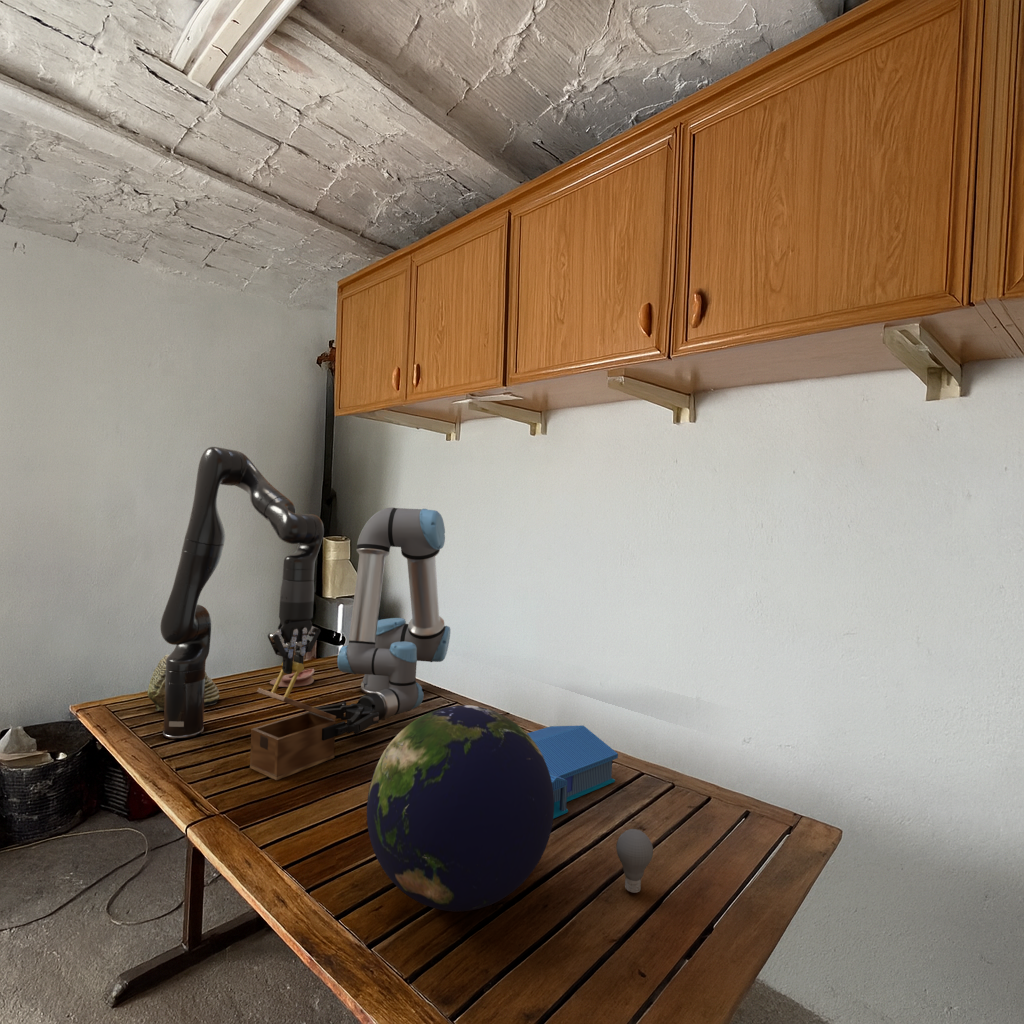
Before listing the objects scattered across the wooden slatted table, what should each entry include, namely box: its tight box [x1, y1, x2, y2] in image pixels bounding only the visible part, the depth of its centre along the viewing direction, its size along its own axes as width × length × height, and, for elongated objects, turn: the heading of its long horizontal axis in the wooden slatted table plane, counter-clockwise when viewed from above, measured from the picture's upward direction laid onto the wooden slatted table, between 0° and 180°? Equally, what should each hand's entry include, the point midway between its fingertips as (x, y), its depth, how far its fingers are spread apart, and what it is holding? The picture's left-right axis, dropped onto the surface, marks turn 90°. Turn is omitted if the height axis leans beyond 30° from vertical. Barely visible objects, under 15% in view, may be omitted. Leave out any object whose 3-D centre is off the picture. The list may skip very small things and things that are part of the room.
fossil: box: [147, 654, 221, 712], centre depth 185 cm, size 9×18×15 cm, turn 132°
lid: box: [256, 660, 337, 721], centre depth 152 cm, size 17×10×9 cm, turn 146°
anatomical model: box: [269, 668, 315, 688], centre depth 212 cm, size 13×4×12 cm
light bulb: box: [615, 828, 654, 894], centre depth 106 cm, size 6×6×10 cm
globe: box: [366, 704, 554, 913], centre depth 102 cm, size 30×30×30 cm
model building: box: [526, 725, 619, 820], centre depth 140 cm, size 39×24×10 cm, turn 132°
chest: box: [249, 711, 336, 781], centre depth 150 cm, size 16×10×9 cm, turn 146°
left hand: (292, 671), depth 149 cm, fingers closed on lid, 2 cm apart
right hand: (308, 729), depth 153 cm, fingers closed on chest, 10 cm apart
